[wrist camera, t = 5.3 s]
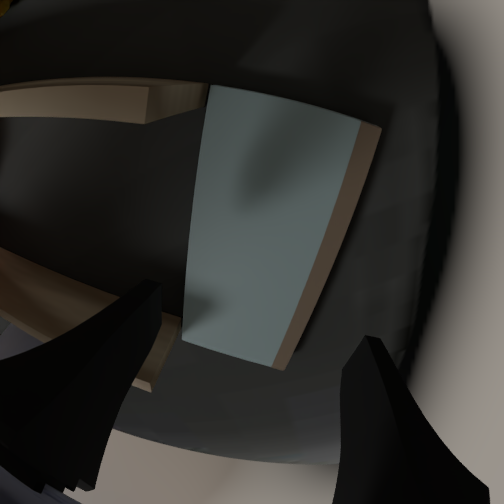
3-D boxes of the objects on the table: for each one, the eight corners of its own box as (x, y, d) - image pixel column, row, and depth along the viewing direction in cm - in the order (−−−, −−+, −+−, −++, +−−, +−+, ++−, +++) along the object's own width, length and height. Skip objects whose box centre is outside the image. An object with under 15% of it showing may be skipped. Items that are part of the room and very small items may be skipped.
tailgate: (186, 330, 18) (286, 359, 18) (181, 340, 17) (284, 370, 17) (217, 85, 10) (377, 125, 10) (210, 85, 10) (382, 128, 9)
